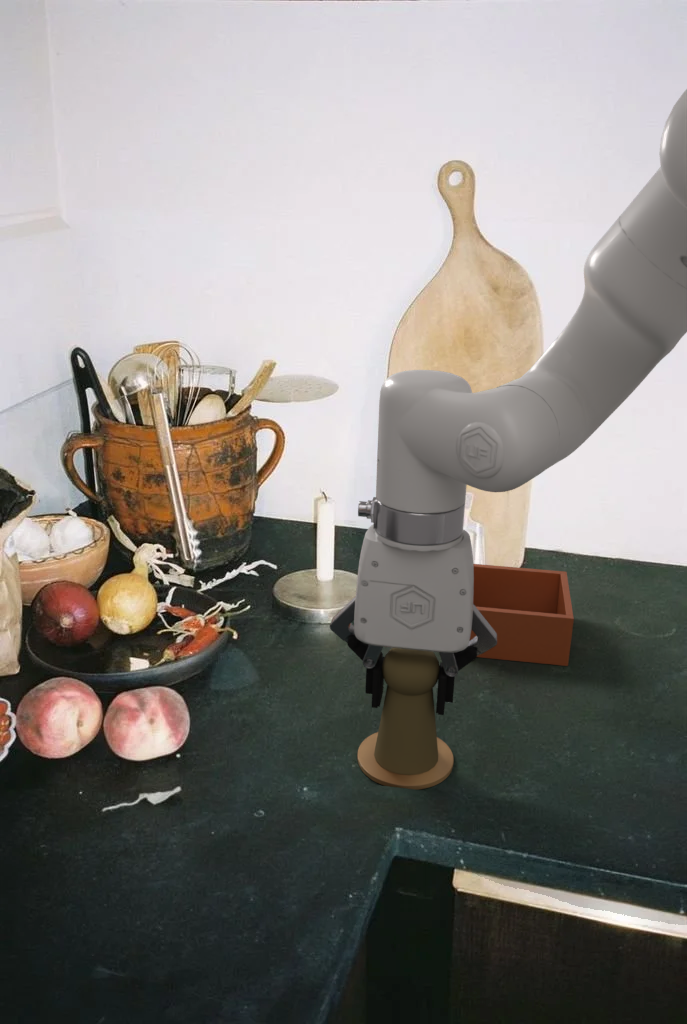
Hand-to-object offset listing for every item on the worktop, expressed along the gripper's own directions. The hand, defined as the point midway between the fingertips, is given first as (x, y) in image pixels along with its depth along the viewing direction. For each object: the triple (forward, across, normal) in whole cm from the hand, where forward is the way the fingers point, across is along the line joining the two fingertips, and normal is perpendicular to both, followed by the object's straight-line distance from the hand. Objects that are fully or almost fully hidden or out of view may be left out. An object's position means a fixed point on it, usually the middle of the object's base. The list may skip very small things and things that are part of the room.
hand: (409, 701), depth 86 cm
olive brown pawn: (+6, 0, 0) cm, 6 cm away
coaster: (+6, 0, 0) cm, 6 cm away
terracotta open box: (+6, +10, +27) cm, 29 cm away
